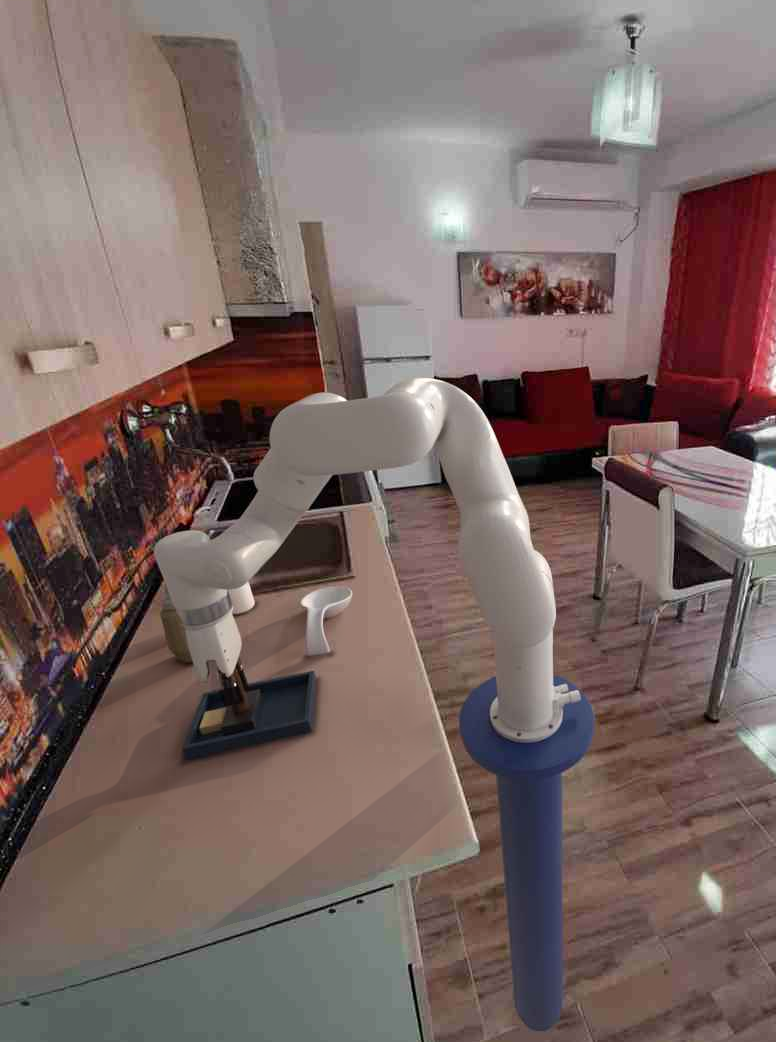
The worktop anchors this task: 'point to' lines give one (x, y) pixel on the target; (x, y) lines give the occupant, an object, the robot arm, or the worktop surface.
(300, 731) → the tray
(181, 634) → the squeeze bottle
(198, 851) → the worktop surface
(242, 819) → the worktop surface
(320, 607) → the spoon rest
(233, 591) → the can
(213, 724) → the yellow square block
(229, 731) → the stamp with brown handle
